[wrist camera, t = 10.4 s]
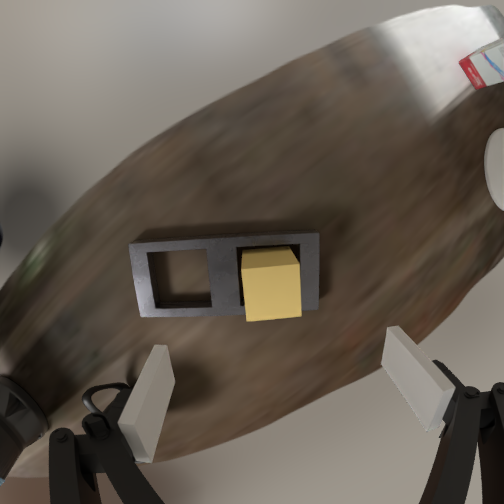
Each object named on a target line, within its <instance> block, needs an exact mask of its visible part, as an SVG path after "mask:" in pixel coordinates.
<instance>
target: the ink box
mask: <svg viewBox="0 0 504 504" xmlns="http://www.w3.org/2000/svg"><path fill="white" fill-rule="evenodd" d="M459 64H460V66H461V67H462V69H463V70H464V72H465V73H466V75H467V77H468V78H469V80H470V81H471V83H472V84H473V86H474V87H475V89H476V90H477V89H480V88H483V87H487V86H490V85H494V84H497V83H500V82H504V38H501V39H499V40H497V41H494V42H492V43H490V44H487V45H485V46H483V47H481V48H479V49H478V50H476V51H475V52H473V53H472V54H470V55H468V56H467V57H465V58H464V59H462V60H460V61H459Z"/></svg>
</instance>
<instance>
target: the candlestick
mask: <svg viewBox="0 0 504 504" xmlns="http://www.w3.org/2000/svg"><path fill="white" fill-rule="evenodd" d="M484 169H485V177H486V182H487V186H488V190H489V192H490V195H491V197H492V199H493V201H494V202H495V204H496V205H497V206H498V207H499V208H500V209H501V210H503V211H504V128H499V129H497V130H495V131H494V132H493V133H492V134H491V135H490V137H489V139H488V142H487V145H486V149H485V156H484Z"/></svg>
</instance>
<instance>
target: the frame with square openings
mask: <svg viewBox="0 0 504 504" xmlns="http://www.w3.org/2000/svg"><path fill="white" fill-rule="evenodd" d="M281 244H297V261H298V262H299V264H300V288H301V311H306V310H317V309H318V305H319V232H318V231H316V230H294V231H275V232H256V233H238V234H221V235H205V236H189V237H174V238H160V239H146V240H134V241H133V242H131V243H129V244H128V246H129V253H130V260H131V266H132V272H133V278H134V284H135V290H136V295H137V300H138V305H139V310H140V315H141V317H188V316H222V315H245V314H246V310H245V300H244V299H241V298H240V284H239V270H238V255H237V247H244V246H262V245H281ZM192 249H206V250H207V261H208V271H209V281H210V291H211V300H209V301H177V302H160V298H159V292H158V286H157V280H156V273H155V266H154V259H153V252H158V251H175V250H192Z"/></svg>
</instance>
